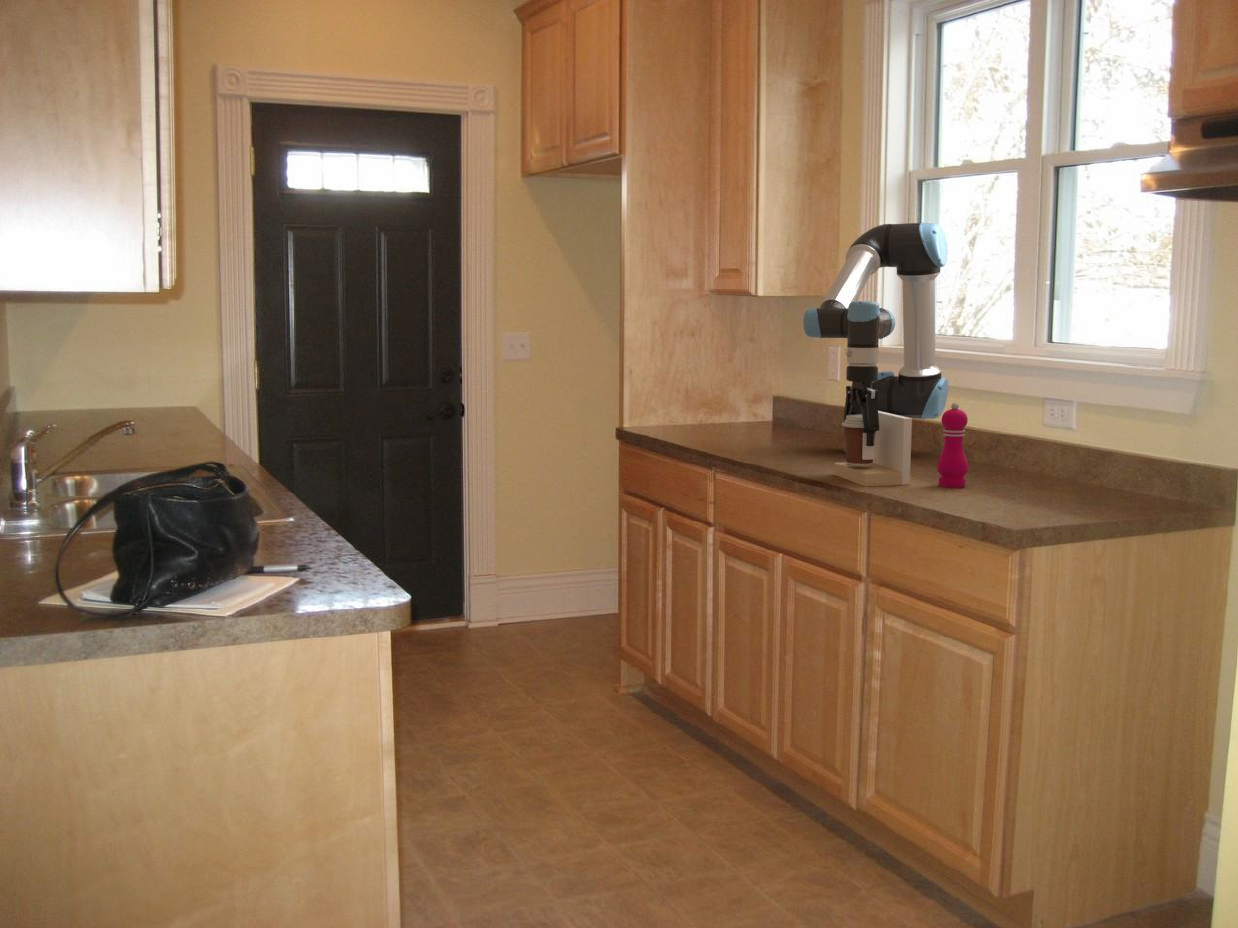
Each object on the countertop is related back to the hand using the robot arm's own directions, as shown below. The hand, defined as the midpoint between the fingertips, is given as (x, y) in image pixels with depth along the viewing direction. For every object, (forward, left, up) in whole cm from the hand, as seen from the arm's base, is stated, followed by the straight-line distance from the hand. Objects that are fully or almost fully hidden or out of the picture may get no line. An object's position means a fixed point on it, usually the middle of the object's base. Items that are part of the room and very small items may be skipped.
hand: (859, 456), depth 303 cm
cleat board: (-3, 0, -6) cm, 6 cm away
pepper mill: (-18, +14, -6) cm, 23 cm away
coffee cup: (0, 0, -2) cm, 2 cm away
